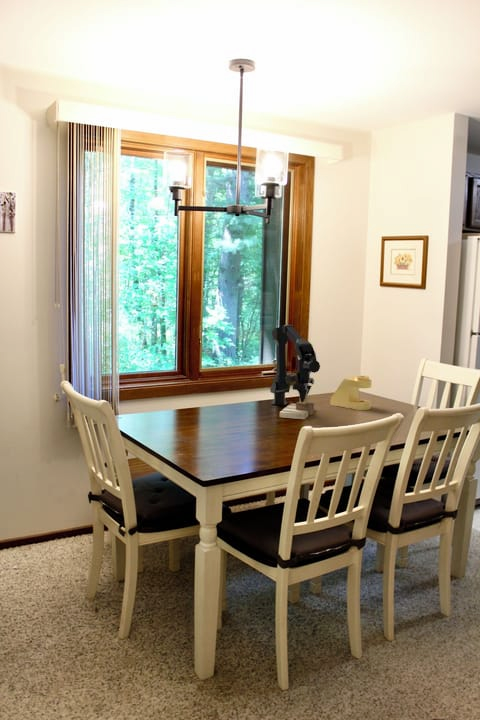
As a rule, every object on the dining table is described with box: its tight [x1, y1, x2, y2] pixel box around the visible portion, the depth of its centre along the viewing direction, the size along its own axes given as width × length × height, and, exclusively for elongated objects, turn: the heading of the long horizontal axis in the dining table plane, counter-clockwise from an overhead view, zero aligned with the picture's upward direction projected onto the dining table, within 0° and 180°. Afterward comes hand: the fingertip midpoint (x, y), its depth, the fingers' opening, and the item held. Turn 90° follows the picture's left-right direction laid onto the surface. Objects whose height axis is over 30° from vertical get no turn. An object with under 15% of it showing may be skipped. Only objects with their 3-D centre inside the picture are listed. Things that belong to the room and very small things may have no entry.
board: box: [279, 403, 315, 420], centre depth 321 cm, size 20×12×3 cm, turn 160°
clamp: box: [330, 375, 372, 411], centre depth 337 cm, size 20×9×16 cm, turn 48°
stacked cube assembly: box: [295, 394, 315, 416], centre depth 318 cm, size 5×8×10 cm, turn 70°
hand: (303, 401), depth 319 cm, fingers closed on stacked cube assembly, 3 cm apart
